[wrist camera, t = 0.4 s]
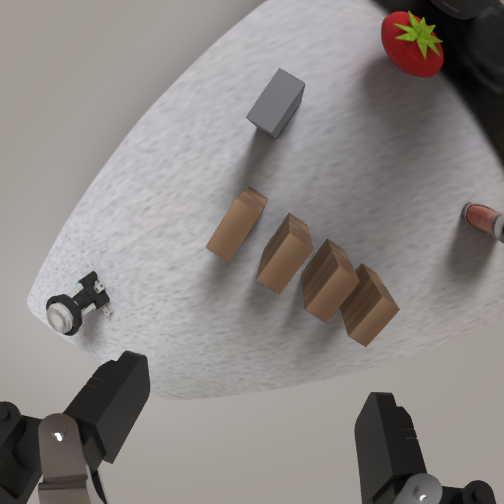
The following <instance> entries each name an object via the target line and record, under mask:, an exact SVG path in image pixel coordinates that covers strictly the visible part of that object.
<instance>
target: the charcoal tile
mask: <svg viewBox="0 0 504 504" xmlns="http://www.w3.org/2000/svg"><path fill="white" fill-rule="evenodd" d="M304 88H305V83H304V82H303V81H301V80H299V79H298V78H296V77H294V76H293V75H291V74H289V73H287V72H286V71H284V70H282V69H280V68H279V69H278V71H277V72H276V74H275V75H274V77H273V78H272V79H271V81H270V82H269V84H268V85H267V87H266V88H265V90H264V91H263V92H262V94H261V95H260V97H259V98H258V100H257V101H256V103H255V104H254V106H253V107H252V109H251V110H250V112H249V113H248V115H247V116H246V118H247V119H248V120H249V121H250V122H252V123H253V124H254V125H255V126H256V127H257V128H259V129H261V130H262V131H264V132H266V133H267V134H269V135H270V136H272V137H274V138H275V139H276V138H277V137H278V135H279V134H280V132H281V131H282V129H283V128H284V126H285V125H286V123H287V122H288V120H289V119H290V117H291V116H292V115H293V113H294V112H295V110H296V109H297V107H298V106H299V104H300V103H301V100H302V96H303V92H304Z"/></svg>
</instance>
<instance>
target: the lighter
mask: <svg viewBox="0 0 504 504" xmlns="http://www.w3.org/2000/svg"><path fill="white" fill-rule="evenodd" d="M462 219H463V221H464V222H465V223H467V224H468V225H470V226H471V227H473V228H475V229H477V230H479V231H481V232H483V233H487V234H490V236H491V237H493V238H495V239H497V240H499V241H500V242H502V243H504V214H503V213H500V212H498V211H496V210H495V209H493V208H491V207H488V206H485V205H482V204H479V203H472V202H469V203H466V204H465V205H464V207H463V209H462Z"/></svg>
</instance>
